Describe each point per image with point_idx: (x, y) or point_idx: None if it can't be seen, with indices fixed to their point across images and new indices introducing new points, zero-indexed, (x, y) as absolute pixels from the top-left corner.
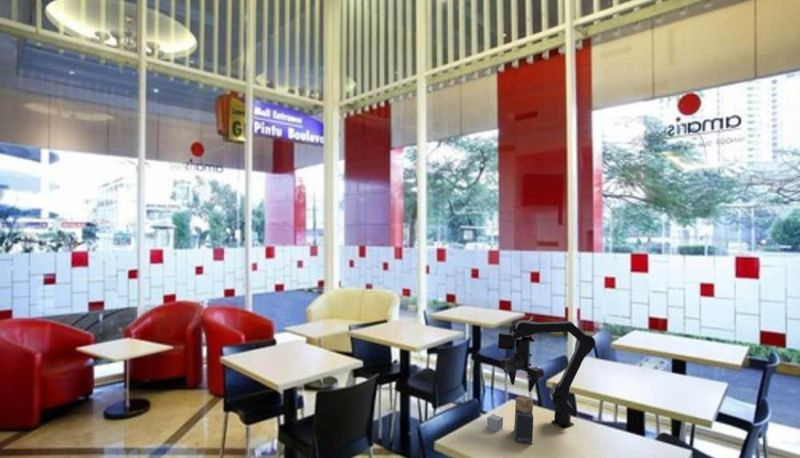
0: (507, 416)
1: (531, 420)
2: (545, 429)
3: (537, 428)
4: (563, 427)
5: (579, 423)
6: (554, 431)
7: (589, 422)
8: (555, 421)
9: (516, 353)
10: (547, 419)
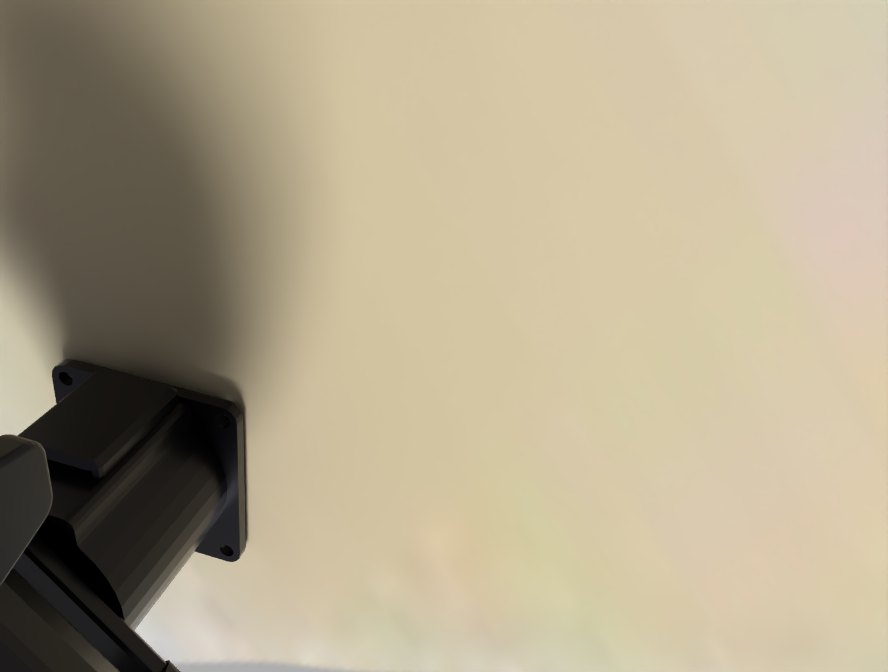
0: (812, 112)
1: None
2: (139, 150)
3: (210, 85)
4: (68, 360)
5: None
6: (51, 187)
7: None
8: (145, 395)
9: None
10: (326, 456)
